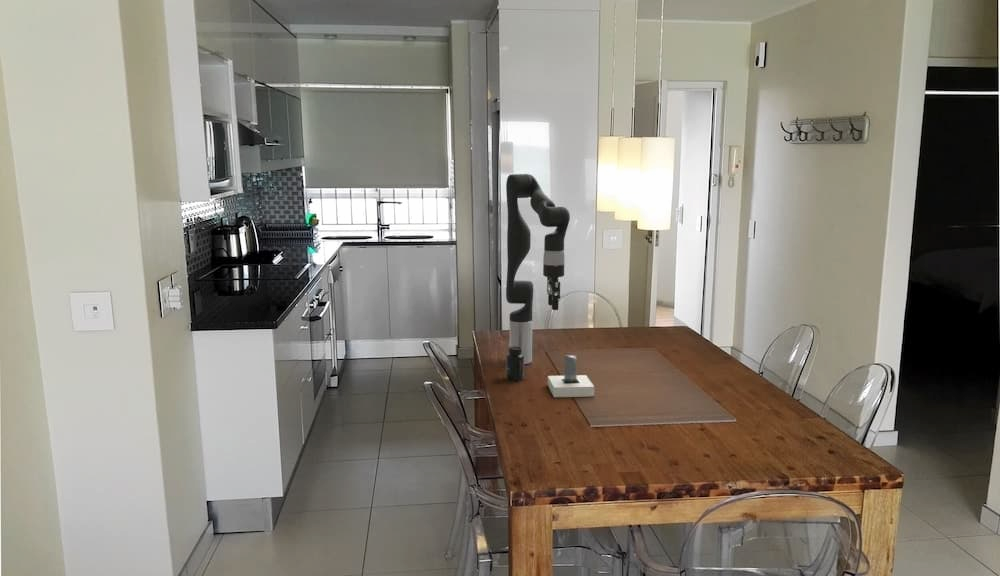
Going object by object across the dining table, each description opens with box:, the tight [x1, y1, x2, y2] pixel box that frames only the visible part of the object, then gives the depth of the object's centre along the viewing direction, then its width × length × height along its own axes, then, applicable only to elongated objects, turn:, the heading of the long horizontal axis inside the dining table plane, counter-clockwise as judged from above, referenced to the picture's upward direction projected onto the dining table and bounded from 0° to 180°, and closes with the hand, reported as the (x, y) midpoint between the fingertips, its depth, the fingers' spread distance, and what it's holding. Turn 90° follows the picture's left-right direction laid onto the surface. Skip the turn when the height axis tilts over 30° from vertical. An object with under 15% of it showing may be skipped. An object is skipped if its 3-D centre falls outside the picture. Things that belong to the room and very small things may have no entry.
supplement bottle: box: [505, 346, 525, 382], centre depth 271 cm, size 7×7×12 cm
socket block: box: [547, 374, 595, 398], centre depth 257 cm, size 14×14×4 cm
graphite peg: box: [563, 354, 578, 384], centre depth 257 cm, size 4×4×12 cm
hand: (553, 307), depth 262 cm, fingers open, 8 cm apart
